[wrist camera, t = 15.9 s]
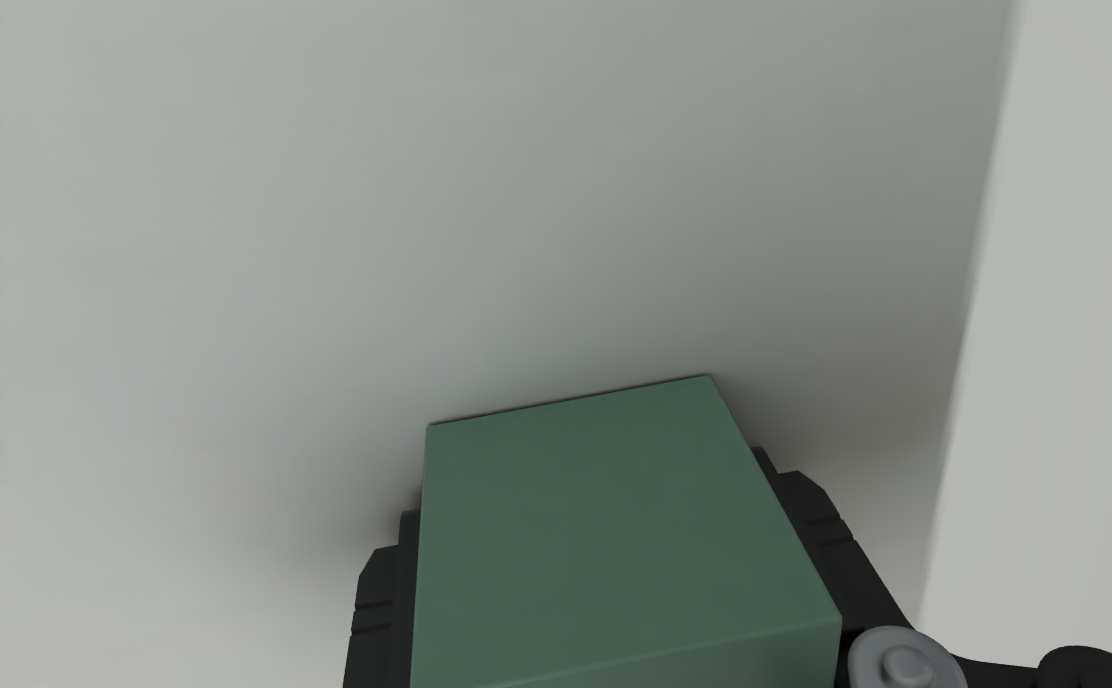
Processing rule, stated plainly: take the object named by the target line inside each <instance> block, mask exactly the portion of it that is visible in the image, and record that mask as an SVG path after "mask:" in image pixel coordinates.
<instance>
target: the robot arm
mask: <svg viewBox="0 0 1112 688" xmlns="http://www.w3.org/2000/svg"><path fill="white" fill-rule="evenodd" d="M750 450H751V451H752V453H753V455H754V457H755V459H756V461H757V462H758V464H759V466H760V468H761V470H762V472H763V473H764V475H765V477H766V479H767V481H768V483H769V484H770V486H771V488H772V490H773V492H774V494H775V495H776V497H777V499H778V501H779V503H780V505H781V506H782V508H783V510H784V512H785V514H786V516H787V517H788V519H789V521H790V523H791V525H792V527H793V528H794V530H795V532H796V534H797V536H798V538H799V539H800V541H801V543H802V545H803V547H804V548H805V550H806V552H807V554H808V556H809V558H810V559H811V561H812V563H813V565H814V567H815V569H816V570H817V572H818V574H819V576H820V578H821V580H822V581H823V583H824V585H825V587H826V589H827V591H828V592H829V594H830V596H831V598H832V600H833V602H834V603H835V605H836V607H837V609H838V611H839V613H840V614H841V616H842V628H841V636H840V643H839V651H838V659H837V666H836V674H835V681H834V688H1112V653H1110V652H1107V651H1104V650H1101V649H1097V648H1093V647H1088V646H1064V647H1060V648H1057V649H1054V650H1052V651H1050V652H1049V653H1048V654H1047V655H1045V656H1044V657H1043V659H1042V660H1041V661H1040V664H1039V666H1038V668H1031V667H1022V666H1013V665H1005V664H996V663H987V662H980V661H974V660H969V659H966V658H962V657H959V656H956V655H954V654H951V653H949V652H948V651H947V650H946V649H945V648H944V647H943V646H942V645H940V644H939V643H938V642H936V641H935V640H934V639H932V638H930V637H928V636H927V635H925V634H923V633H920V632H918V631H916V630H915V629H914V628H913V627H912V625H911V624H910V623H909V622H908V620H907V619H906V618H905V616H904V615H903V613H902V612H901V610H900V608H899V607H898V605H897V604H896V602H895V601H894V599H893V597H892V596H891V594H890V593H889V591H888V590H887V588H886V586H885V585H884V583H883V582H882V580H881V579H880V577H879V575H878V574H877V572H876V571H875V569H874V568H873V566H872V564H871V563H870V561H869V560H868V558H867V557H866V555H865V553H864V552H863V550H862V549H861V547H860V546H859V544H858V542H857V541H856V540H854V539H853V535H852V533H851V531H850V530H849V528H848V527H847V525H846V524H845V522H844V520H843V519H842V520H841V518H840V514H839V513H838V511H837V509H836V508H835V506H834V505H833V503H832V502H831V500H830V498H829V497H828V495H827V494H826V492H825V490H824V489H822V488H821V487H820V486H818V485H817V484H816V483H814V482H813V481H812V480H810V479H809V478H808V477H806V476H805V475H804V474H802V473H801V472H800V471H798V470H797V471H792V472H787V473H781V474H778V473H777V471H776V469H775V468H774V466H773V464H772V462H771V461H770V459H769V457H768V455H767V454H766V452H765V450H764V449H763V448H762V447H761V446H756V447H751V448H750ZM420 519H421V508H420V509H415V510H409V511H404V512H403V513H402V515H401V520H400V531H399V541H398V545H395V546H389V547H384V548H379V549H375V550H374V552H373V554H372V556H371V557H370V559H369V561H368V562H367V564H366V566H365V567H364V569H363V571H362V572H361V574H360V576H359V580H358V587H357V594H356V600H355V611H354V614H353V620H352V627H351V631H352V636H350V641H349V647H348V654H347V661H346V667H345V674H344V681H343V688H410V679H411V663H412V647H413V631H414V615H415V599H416V583H417V567H418V551H419V535H420Z"/></svg>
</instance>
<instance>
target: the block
mask: <svg viewBox="0 0 1112 688" xmlns="http://www.w3.org/2000/svg"><path fill="white" fill-rule="evenodd" d="M841 628H842V616H841V614H840V613H839V611H838V609H837V607H836V605H835V603H834V602H833V600H832V598H831V596H830V594H829V592H828V591H827V589H826V587H825V585H824V583H823V581H822V580H821V578H820V576H819V574H818V572H817V570H816V569H815V567H814V565H813V563H812V561H811V559H810V558H809V556H808V554H807V552H806V550H805V548H804V547H803V545H802V543H801V541H800V539H799V538H798V536H797V534H796V532H795V530H794V528H793V527H792V525H791V523H790V521H789V519H788V517H787V516H786V514H785V512H784V510H783V508H782V506H781V505H780V503H779V501H778V499H777V497H776V495H775V494H774V492H773V490H772V488H771V486H770V484H769V483H768V481H767V479H766V477H765V475H764V473H763V472H762V470H761V468H760V466H759V464H758V462H757V461H756V459H755V457H754V455H753V453H752V451H751V450H750V448H749V446H748V444H747V442H746V441H745V439H744V437H743V435H742V433H741V431H740V430H739V428H738V426H737V424H736V422H735V420H734V419H733V417H732V415H731V413H730V411H729V409H728V408H727V406H726V404H725V402H724V400H723V398H722V397H721V395H720V393H719V391H718V389H717V387H716V386H715V384H714V382H713V380H712V378H711V377H710V376H708V375H705V376H700V377H694V378H689V379H683V380H678V381H672V382H667V383H661V384H656V385H651V386H645V387H640V388H634V389H629V390H623V391H618V392H613V393H607V394H602V395H596V396H591V397H585V398H580V399H574V400H569V401H564V402H558V403H553V404H547V405H542V406H536V407H531V408H526V409H520V410H515V411H509V412H504V413H498V414H493V415H487V416H482V417H477V418H471V419H466V420H460V421H455V422H449V423H444V424H438V425H433V426H429V427H427V429H426V440H425V456H424V471H423V487H422V503H421V519H420V535H419V551H418V567H417V583H416V599H415V615H414V631H413V647H412V663H411V679H410V688H834V681H835V674H836V666H837V659H838V651H839V643H840V636H841Z"/></svg>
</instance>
